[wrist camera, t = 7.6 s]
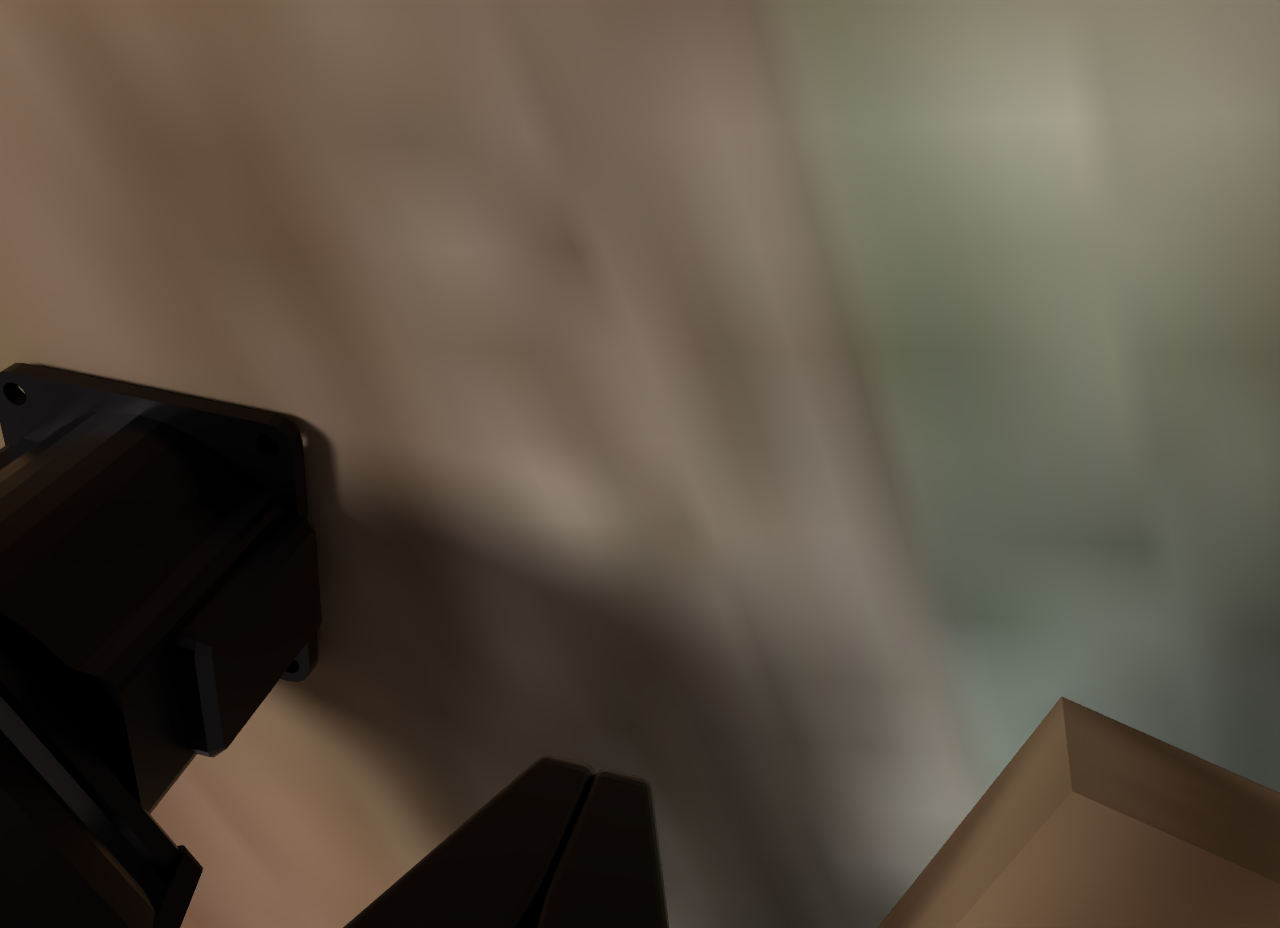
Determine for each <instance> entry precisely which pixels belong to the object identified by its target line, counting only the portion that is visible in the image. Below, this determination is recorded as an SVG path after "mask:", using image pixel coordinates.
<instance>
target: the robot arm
mask: <svg viewBox="0 0 1280 928" xmlns="http://www.w3.org/2000/svg"><path fill="white" fill-rule="evenodd" d="M18 385H19V386H20V387H21V388H22V389H23V390H24V392H25V394H24V393H23V392H22V391H21V390H20V389H19V387H18ZM0 424H1V428H2V433H3V437H4V441H5V446H4V447H3V448H1V449H0V928H180V927H181V924H182V922H183V919H184V916H185V914H186V911H187V909H188V906H189V904H190V901H191V899H192V896H193V894H194V891H195V889H196V886H197V884H198V881H199V878H200V876H201V873H202V870H203V867H202V866H201V865H200V864H199V863H198V861H197V860H196V859H195V858H194V857H193V856H192V854H191V853H190V852H189V851H188V850H187V849H186V847H185V846H184V845H180V846H177V845H176V844H175V843H174V842H173V841H172V840H171V838H170V837H169V836H168V835H167V834H166V833H165V831H164V830H163V829H162V828H161V827H160V826H159V824H158V823H157V822H156V821H155V820H154V819H153V817H152V816H151V815H150V813H151V812H152V811H153V810H154V808H155V807H156V806H157V805H158V803H159V802H160V801H161V799H162V798H163V797H164V796H165V794H166V793H167V792H168V790H169V789H170V788H171V787H172V785H173V784H174V783H175V782H176V780H177V779H178V778H179V776H180V775H181V774H182V773H183V771H184V770H185V769H186V767H187V766H188V765H189V764H190V762H191V761H192V760H193V759H194V757H195V756H196V755H197V754H200V755H204V756H208V757H215V756H217V755H218V754H219V753H221V752H222V751H224V750H225V749H227V748H228V747H229V745H230V744H231V743H232V741H233V740H234V739H235V737H236V736H237V735H238V733H239V732H240V731H241V729H242V728H243V727H244V725H245V724H246V723H247V721H248V720H249V719H250V717H251V716H252V715H253V713H254V712H255V711H256V710H257V708H258V707H259V706H260V704H261V703H262V702H263V700H264V699H265V698H266V696H267V695H268V694H269V692H270V691H271V690H272V688H273V687H274V686H275V684H276V683H277V682H278V680H279V679H283V680H287V681H295V682H299V681H302V680H305V678H306V677H307V676H308V675H309V674H310V672H311V671H312V670H313V668H314V667H315V666H316V664H317V661H318V647H317V634H316V630H317V629H318V628H319V626H320V624H321V620H322V619H321V604H320V590H319V576H318V562H317V547H316V533H315V530H314V528H313V526H312V524H311V522H310V520H309V519H308V511H307V498H306V484H305V470H304V457H303V443H302V438H301V435H300V432H299V430H298V429H297V428H296V426H295V425H294V424H293V423H292V422H291V421H290V420H288V419H287V418H285V417H283V416H280V415H278V414H273V413H268V412H263V411H258V410H254V409H249V408H244V407H239V406H234V405H229V404H224V403H219V402H214V401H209V400H204V399H199V398H194V397H189V396H184V395H179V394H174V393H169V392H164V391H159V390H154V389H149V388H144V387H140V386H135V385H130V384H125V383H120V382H115V381H110V380H105V379H100V378H95V377H90V376H85V375H80V374H75V373H70V372H65V371H60V370H55V369H50V368H45V367H40V366H35V365H30V364H26V363H15V364H13V365H11V366H9V367H8V368H6V369H4V370H3V371H1V372H0ZM267 435H269V436H272V437H274V438H275V439H276V440H277V441H278V442H279V445H280V447H281V448H279V447H277V446H274V445H273V444H272V443H271V442H270V441H269V440H268V437H267ZM294 659H296V660H297V661H296V660H294ZM343 928H669V922H668V914H667V906H666V898H665V890H664V882H663V873H662V865H661V857H660V849H659V841H658V833H657V825H656V817H655V809H654V801H653V793H652V787H651V785H650V783H649V781H648V780H647V779H644V778H642V777H638V776H634V775H629V774H625V773H621V772H617V771H613V770H609V769H603V770H600V771H599V772H598V773H597V774H596V773H595V770H594V769H593V768H592V767H591V766H590V765H588V764H584V763H580V762H576V761H572V760H568V759H564V758H559V757H555V756H544V757H542V758H540V759H538V760H537V761H536V762H534V763H533V764H532V765H531V766H530V767H529V768H527V769H526V770H525V771H524V772H523V773H522V774H521V775H519V776H518V777H517V778H516V779H515V780H514V781H512V782H511V783H510V784H509V785H508V786H507V787H505V788H504V789H503V790H502V791H501V792H500V793H499V794H497V795H496V796H495V797H494V798H493V799H492V800H490V801H489V802H488V803H487V804H486V805H485V806H483V807H482V808H481V809H480V810H479V811H478V812H477V813H475V814H474V815H473V816H472V817H471V818H470V819H468V820H467V821H466V822H465V823H464V824H463V825H461V826H460V827H459V828H458V829H457V830H456V831H455V832H453V833H452V834H451V835H450V836H449V837H448V838H446V839H445V840H444V841H443V842H442V843H441V844H439V845H438V846H437V847H436V848H435V849H434V850H433V851H431V852H430V853H429V854H428V855H427V856H426V857H424V858H423V859H422V860H421V861H420V862H419V863H417V864H416V865H415V866H414V867H413V868H412V869H411V870H409V871H408V872H407V873H406V874H405V875H404V876H402V877H401V878H400V879H399V880H398V881H397V882H395V883H394V884H393V885H392V886H391V887H390V888H389V889H387V890H386V891H385V892H384V893H383V894H382V895H380V896H379V897H378V898H377V899H376V900H375V901H373V902H372V903H371V904H370V905H369V906H368V907H367V908H365V909H364V910H363V911H362V912H361V913H360V914H358V915H357V916H356V917H355V918H354V919H353V920H351V921H350V922H349V923H348V924H347V925H346V926H345V927H343Z"/></svg>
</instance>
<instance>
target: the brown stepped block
mask: <svg viewBox="0 0 1280 928" xmlns="http://www.w3.org/2000/svg"><path fill="white" fill-rule="evenodd" d="M878 928H1280V793H1278V792H1276V791H1274V790H1271V789H1269V788H1267V787H1264V786H1262V785H1260V784H1258V783H1255V782H1253V781H1251V780H1249V779H1246V778H1244V777H1242V776H1240V775H1237V774H1235V773H1233V772H1231V771H1228V770H1226V769H1224V768H1222V767H1219V766H1217V765H1215V764H1213V763H1210V762H1208V761H1206V760H1204V759H1201V758H1199V757H1197V756H1195V755H1192V754H1190V753H1188V752H1186V751H1183V750H1181V749H1179V748H1177V747H1174V746H1172V745H1170V744H1168V743H1165V742H1163V741H1161V740H1159V739H1156V738H1154V737H1152V736H1149V735H1147V734H1145V733H1143V732H1140V731H1138V730H1136V729H1134V728H1131V727H1129V726H1127V725H1125V724H1122V723H1120V722H1118V721H1116V720H1113V719H1111V718H1109V717H1107V716H1104V715H1102V714H1100V713H1098V712H1095V711H1093V710H1091V709H1089V708H1086V707H1084V706H1082V705H1080V704H1077V703H1075V702H1073V701H1071V700H1068V699H1066V698H1064V697H1061V698H1060V700H1059V701H1058V702H1057V703H1056V705H1055V706H1054V707H1053V708H1052V710H1051V711H1050V712H1049V713H1048V715H1047V716H1046V717H1045V718H1044V720H1043V721H1042V722H1041V723H1040V725H1039V726H1038V727H1037V728H1036V730H1035V731H1034V732H1033V733H1032V735H1031V736H1030V737H1029V739H1028V740H1027V741H1026V742H1025V744H1024V745H1023V746H1022V747H1021V749H1020V750H1019V751H1018V752H1017V754H1016V755H1015V756H1014V757H1013V759H1012V760H1011V761H1010V762H1009V764H1008V765H1007V766H1006V767H1005V769H1004V770H1003V771H1002V772H1001V774H1000V775H999V776H998V777H997V779H996V780H995V781H994V782H993V784H992V785H991V786H990V788H989V789H988V790H987V791H986V793H985V794H984V795H983V796H982V798H981V799H980V800H979V801H978V803H977V804H976V805H975V806H974V808H973V809H972V810H971V811H970V813H969V814H968V815H967V816H966V818H965V819H964V820H963V821H962V823H961V824H960V825H959V826H958V828H957V829H956V830H955V831H954V833H953V834H952V835H951V837H950V838H949V839H948V840H947V842H946V843H945V844H944V845H943V847H942V848H941V849H940V850H939V852H938V853H937V854H936V855H935V857H934V858H933V859H932V860H931V862H930V863H929V864H928V865H927V867H926V868H925V869H924V870H923V872H922V873H921V874H920V875H919V877H918V878H917V879H916V880H915V882H914V883H913V884H912V886H911V887H910V888H909V889H908V891H907V892H906V893H905V894H904V896H903V897H902V898H901V899H900V901H899V902H898V903H897V904H896V906H895V907H894V908H893V909H892V911H891V912H890V913H889V914H888V916H887V917H886V918H885V919H884V921H883V922H882V923H881V924H880V926H879V927H878Z"/></svg>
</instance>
